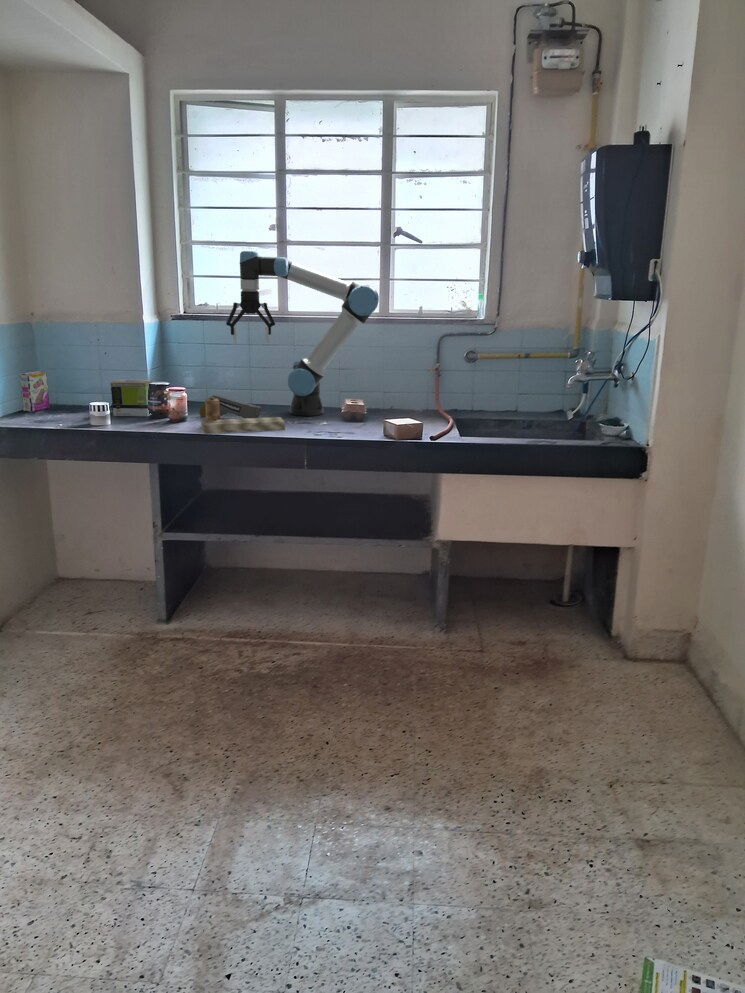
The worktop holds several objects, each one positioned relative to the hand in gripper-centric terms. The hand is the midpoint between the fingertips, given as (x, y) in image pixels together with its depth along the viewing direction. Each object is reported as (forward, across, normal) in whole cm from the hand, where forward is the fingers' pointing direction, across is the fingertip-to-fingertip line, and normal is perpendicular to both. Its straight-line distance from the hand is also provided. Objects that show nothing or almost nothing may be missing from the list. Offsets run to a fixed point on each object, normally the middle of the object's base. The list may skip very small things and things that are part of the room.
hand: (251, 342), depth 307 cm
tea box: (+32, +49, -16) cm, 61 cm away
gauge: (+32, +19, +20) cm, 42 cm away
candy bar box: (+32, +89, -35) cm, 101 cm away
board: (+32, +8, +24) cm, 41 cm away
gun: (+32, +10, 0) cm, 34 cm away
